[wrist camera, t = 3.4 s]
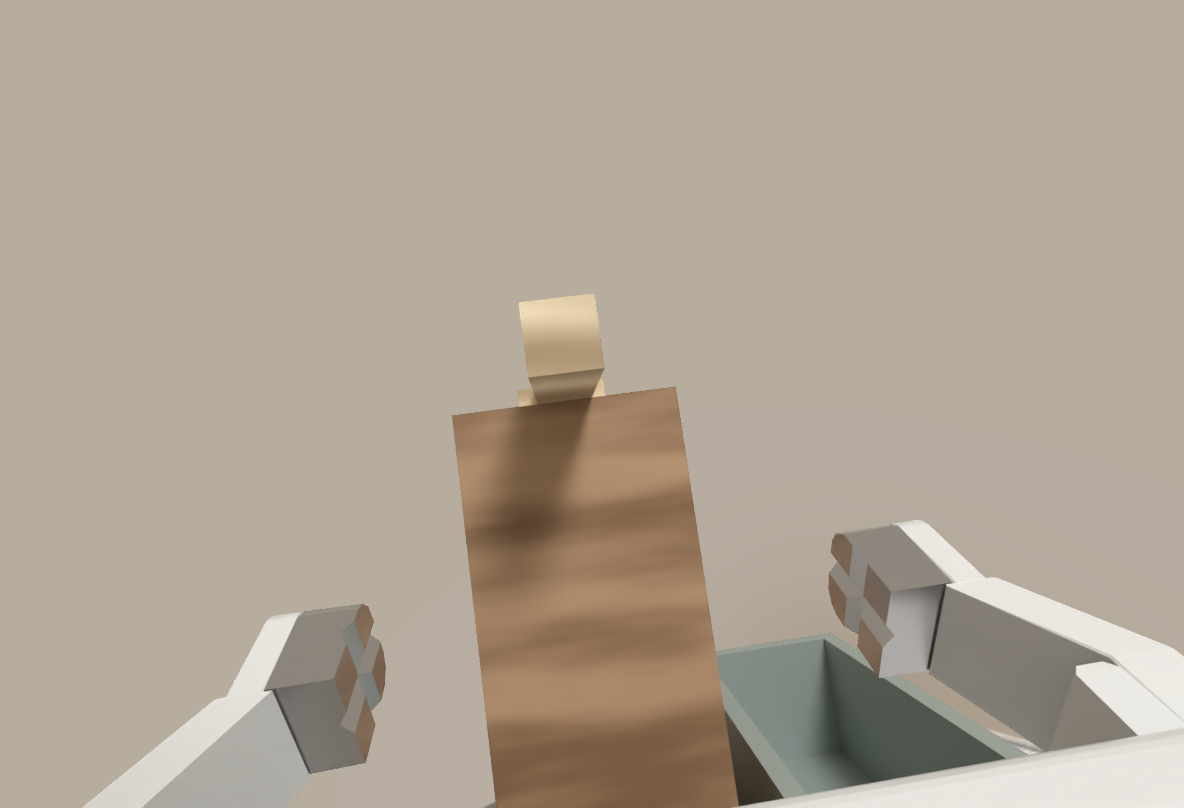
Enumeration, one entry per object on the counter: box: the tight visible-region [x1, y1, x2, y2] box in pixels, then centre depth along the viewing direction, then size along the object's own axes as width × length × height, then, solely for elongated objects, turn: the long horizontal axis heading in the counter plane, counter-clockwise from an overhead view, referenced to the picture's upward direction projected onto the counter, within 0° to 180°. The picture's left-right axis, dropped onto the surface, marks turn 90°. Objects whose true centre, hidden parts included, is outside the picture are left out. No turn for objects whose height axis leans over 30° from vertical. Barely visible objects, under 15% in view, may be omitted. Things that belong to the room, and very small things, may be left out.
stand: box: [452, 387, 739, 808], centre depth 34 cm, size 19×11×27 cm, turn 3°
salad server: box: [518, 294, 605, 407], centre depth 31 cm, size 24×5×2 cm, turn 3°
